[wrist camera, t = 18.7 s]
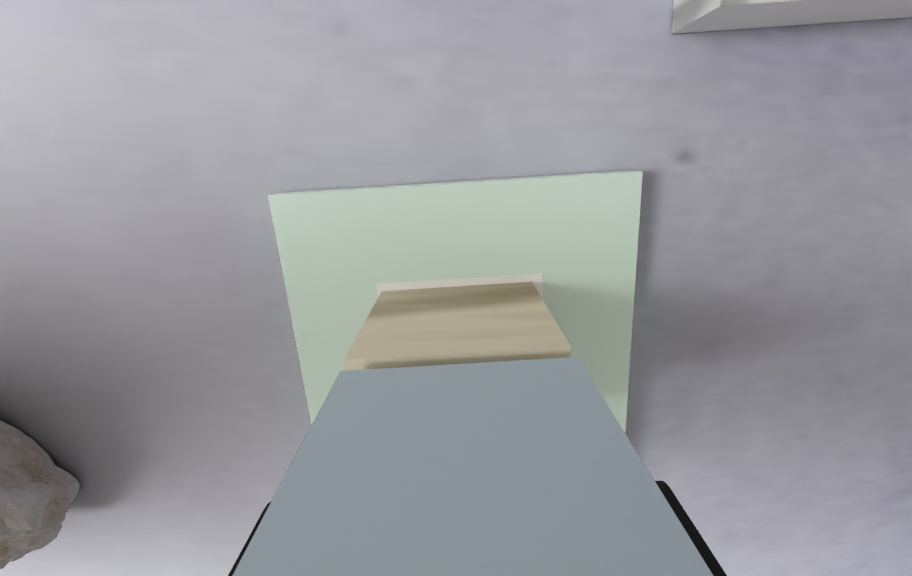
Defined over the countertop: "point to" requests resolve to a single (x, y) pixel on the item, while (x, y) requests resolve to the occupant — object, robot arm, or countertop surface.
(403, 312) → the birch block
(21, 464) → the stone
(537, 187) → the plate
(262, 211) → the countertop surface
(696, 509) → the countertop surface
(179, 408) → the countertop surface
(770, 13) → the toy pen
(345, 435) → the greyblue block
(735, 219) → the countertop surface
